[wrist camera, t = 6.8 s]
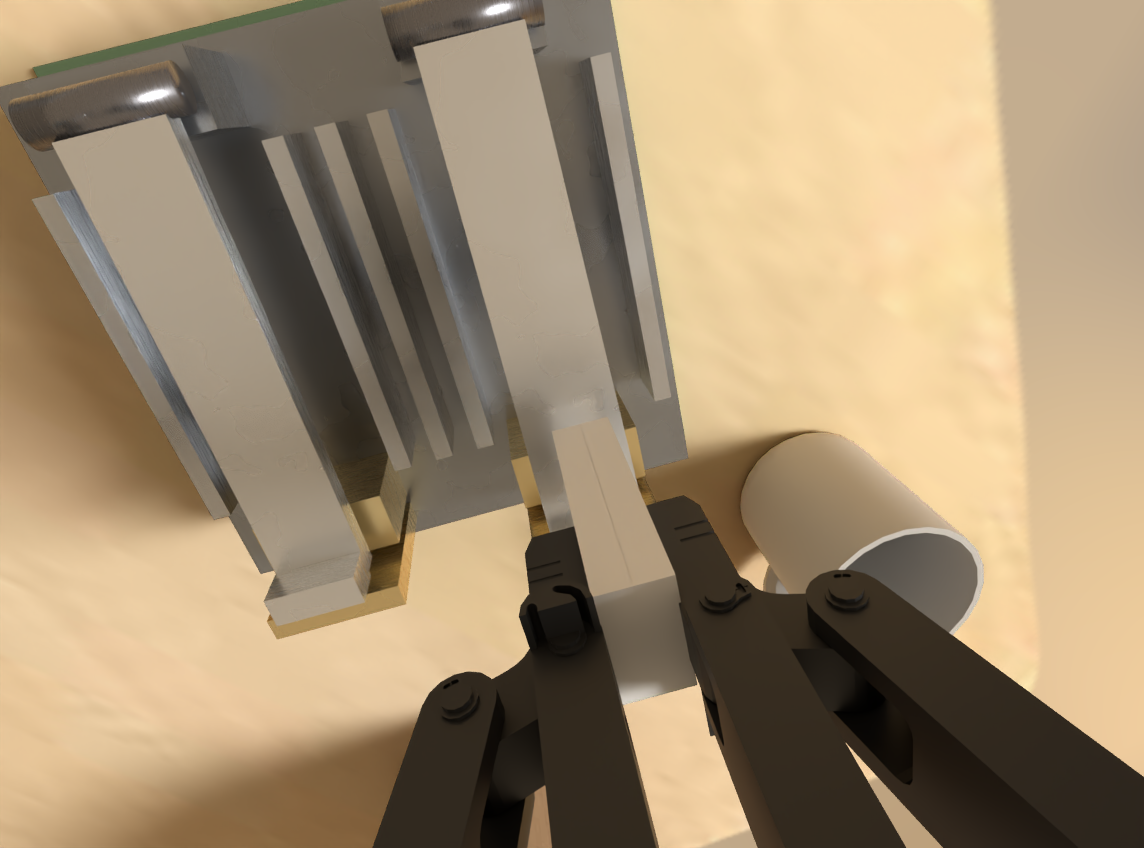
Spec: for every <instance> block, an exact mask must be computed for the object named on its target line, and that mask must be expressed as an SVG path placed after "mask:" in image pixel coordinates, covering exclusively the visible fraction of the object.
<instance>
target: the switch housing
mask: <svg viewBox="0 0 1144 848" xmlns="http://www.w3.org/2000/svg"><path fill="white" fill-rule="evenodd" d="M405 1H409V0H303V1H299V2H295V3H291V4H287V5H283V6H279V7H275V8H271V9H267V10H263V11H259V12H255V13H251V14H247V15H243V16H239V17H234V18H230V19H226V20H222V21H218V22H214V23H210V24H206V25H202V26H198V27H194V28H190V29H186V30H182V31H178V32H174V33H170V34H166V35H162V36H158V37H154V38H150V39H146V40H142V41H138V42H134V43H130V44H126V45H122V46H118V47H114V48H110V49H106V50H102V51H98V52H94V53H90V54H86V55H82V56H78V57H74V58H70V59H66V60H62V61H58V62H54V63H50V64H46V65H42V66H38V67H34V68H33V70H34V71H35V73H36V75H37V77H38V78H34V79H30V80H26V81H22V82H18V83H14V84H10V85H6V86H2V87H0V106H1V107H2V109H3V111H4V113H5V115H6V116H7V118H8V120H9V122H10V124H11V125H12V127H13V129H14V131H15V133H16V134H17V136H18V138H19V140H20V142H21V143H22V145H23V147H24V149H25V151H26V152H27V154H28V156H29V158H30V160H31V161H32V163H33V165H34V167H35V169H36V170H37V172H38V174H39V176H40V178H41V179H42V181H43V183H44V185H45V187H46V188H47V190H48V192H49V194H50V195H46V196H42V197H38V198H34V199H31V200H32V201H33V203H34V205H35V207H36V208H37V210H38V212H39V214H40V215H41V217H42V219H43V221H44V223H45V224H46V226H47V228H48V230H49V231H50V233H51V235H52V237H53V238H54V240H55V242H56V244H57V245H58V247H59V249H60V251H61V252H62V254H63V256H64V258H65V259H66V261H67V263H68V265H69V266H70V268H71V270H72V272H73V273H74V275H75V277H76V279H77V280H78V282H79V284H80V286H81V287H82V289H83V291H84V293H85V294H86V296H87V298H88V300H89V301H90V303H91V305H92V307H93V309H94V310H95V312H96V314H97V316H98V317H99V319H100V321H101V323H102V324H103V326H104V328H105V330H106V331H107V333H108V335H109V337H110V338H111V340H112V342H113V344H114V345H115V347H116V349H117V351H118V352H119V354H120V356H121V358H122V359H123V361H124V363H125V365H126V366H127V368H128V370H129V372H130V373H131V375H132V377H133V379H134V380H135V382H136V384H137V386H138V388H139V389H140V391H141V393H142V395H143V396H144V398H145V400H146V402H147V403H148V405H149V407H150V409H151V410H152V412H153V414H154V416H155V417H156V419H157V421H158V423H159V424H160V426H161V428H162V430H163V431H164V433H165V435H166V437H167V438H168V440H169V442H170V444H171V445H172V447H173V449H174V451H175V452H176V454H177V456H178V458H179V459H180V461H181V463H182V465H183V466H184V468H185V470H186V472H187V474H188V475H189V477H190V479H191V481H192V482H193V484H194V486H195V488H196V489H197V491H198V493H199V495H200V496H201V498H202V500H203V502H204V503H205V505H206V507H207V509H208V510H209V512H210V514H211V516H212V517H213V519H214V520H215V519H219V518H223V517H226V516H229V518H230V519H231V521H232V523H233V525H234V527H235V528H236V530H237V532H238V534H239V536H240V537H241V539H242V541H243V543H244V545H245V546H246V548H247V550H248V552H249V554H250V555H251V557H252V559H253V561H254V563H255V564H256V566H257V568H258V570H259V572H260V573H261V574H263V573H266V572H270V571H274V569H273V567H272V565H271V563H270V561H269V560H268V558H267V556H266V554H265V552H264V550H263V548H262V546H261V544H260V542H259V540H258V538H257V536H256V535H255V533H254V531H253V529H252V527H251V525H250V523H249V521H248V519H247V517H246V515H245V513H244V512H243V510H242V508H241V506H240V504H239V502H238V500H237V498H236V496H235V494H234V492H233V490H232V488H231V487H230V485H229V483H228V481H227V479H226V477H225V475H224V473H223V471H222V469H221V467H220V465H219V464H218V462H217V460H216V458H215V456H214V454H213V452H212V450H211V448H210V446H209V444H208V442H207V441H206V439H205V437H204V435H203V433H202V431H201V429H200V427H199V425H198V423H197V421H196V419H195V417H194V416H193V414H192V412H191V410H190V408H189V406H188V404H187V402H186V400H185V398H184V396H183V394H182V393H181V391H180V389H179V387H178V385H177V383H176V381H175V379H174V377H173V375H172V373H171V371H170V370H169V368H168V366H167V364H166V362H165V360H164V358H163V356H162V354H161V352H160V350H159V348H158V346H157V345H156V343H155V341H154V339H153V337H152V335H151V333H150V331H149V329H148V327H147V325H146V323H145V322H144V320H143V318H142V316H141V314H140V312H139V310H138V308H137V306H136V304H135V302H134V300H133V298H132V297H131V295H130V293H129V291H128V289H127V287H126V285H125V283H124V281H123V279H122V277H121V275H120V274H119V272H118V270H117V268H116V266H115V264H114V262H113V260H112V258H111V256H110V254H109V252H108V251H107V249H106V247H105V245H104V243H103V241H102V239H101V237H100V235H99V233H98V231H97V229H96V227H95V226H94V224H93V222H92V220H91V218H90V216H89V214H88V212H87V210H86V208H85V206H84V204H83V203H82V201H81V199H80V197H79V195H78V193H77V191H76V189H75V187H74V185H73V183H72V181H71V179H70V178H69V176H68V174H67V172H66V170H65V168H64V166H63V164H62V162H61V160H60V158H59V156H58V155H57V153H56V151H55V149H53V150H49V151H45V152H40V151H37V150H35V149H33V148H32V147H31V146H29V145H28V144H27V143H26V142H25V141H24V140H23V138H22V137H21V136H20V135H19V133H18V132H17V130H16V129H15V127H14V125H13V123H12V121H11V119H10V116H9V111H8V104H9V102H10V101H11V100H13V99H16V98H20V97H24V96H28V95H32V94H36V93H40V92H44V91H48V90H52V89H56V88H60V87H64V86H68V85H72V84H76V83H80V82H84V81H88V80H92V79H96V78H100V77H104V76H108V75H112V74H116V73H120V72H124V71H128V70H132V69H136V68H140V67H144V66H148V65H152V64H156V63H160V62H164V61H168V60H172V61H174V62H175V63H176V64H177V65H178V66H179V67H180V69H181V70H182V71H183V73H184V74H185V76H186V78H187V79H188V81H189V83H190V85H191V88H192V90H193V92H194V95H195V98H196V102H197V112H196V113H195V114H192V115H188V116H184V117H180V119H181V121H182V123H183V126H184V128H185V130H186V132H187V135H188V137H189V139H190V141H191V144H192V146H193V148H194V151H195V153H196V155H197V157H198V160H199V162H200V164H201V167H202V169H203V171H204V173H205V176H206V178H207V180H208V183H209V185H210V187H211V189H212V192H213V194H214V196H215V199H216V201H217V203H218V205H219V208H220V210H221V212H222V214H223V217H224V219H225V221H226V224H227V226H228V228H229V230H230V233H231V235H232V237H233V240H234V242H235V244H236V246H237V249H238V251H239V253H240V256H241V258H242V260H243V262H244V265H245V267H246V269H247V272H248V274H249V276H250V278H251V281H252V283H253V285H254V287H255V290H256V292H257V294H258V297H259V299H260V301H261V303H262V306H263V308H264V310H265V313H266V315H267V317H268V319H269V322H270V324H271V326H272V329H273V331H274V333H275V335H276V338H277V340H278V342H279V344H280V347H281V349H282V351H283V354H284V356H285V358H286V360H287V363H288V365H289V367H290V370H291V372H292V374H293V376H294V379H295V381H296V383H297V386H298V388H299V390H300V392H301V395H302V397H303V399H304V402H305V404H306V406H307V408H308V411H309V413H310V415H311V417H312V420H313V422H314V424H315V427H316V429H317V431H318V433H319V436H320V438H321V440H322V443H323V445H324V447H325V449H326V452H327V454H328V456H329V459H330V461H331V463H332V465H333V468H334V470H335V472H336V474H337V477H338V479H339V481H340V484H341V486H342V488H343V490H344V493H345V495H346V497H347V500H348V502H349V504H350V506H351V509H352V511H353V513H354V516H355V518H356V520H357V522H358V525H359V527H360V529H361V532H362V534H363V536H364V538H365V541H366V543H367V545H368V547H369V550H370V552H371V554H372V561H371V565H370V569H369V571H370V574H371V578H370V583H369V587H368V591H367V596H366V600H365V603H361V604H357V605H354V606H350V607H346V608H343V609H339V610H335V611H332V612H328V613H324V614H321V615H317V616H314V617H310V618H306V619H303V620H299V621H295V622H292V623H288V624H284V625H281V626H277V625H276V624H275V622H274V620H273V618H272V616H271V614H270V615H269V618H268V620H267V622H268V624H269V626H270V628H271V629H272V631H273V633H274V635H275V636H276V638H277V639H280V638H284V637H288V636H291V635H295V634H299V633H302V632H306V631H310V630H313V629H317V628H321V627H324V626H328V625H332V624H335V623H339V622H343V621H346V620H350V619H353V618H357V617H361V616H364V615H368V614H372V613H375V612H379V611H383V610H386V609H390V608H394V607H397V606H401V605H405V604H406V600H407V592H408V584H409V576H410V569H411V561H412V553H413V545H414V537H415V532H418V531H421V530H425V529H429V528H432V527H436V526H440V525H443V524H447V523H451V522H455V521H458V520H462V519H466V518H469V517H473V516H477V515H480V514H484V513H488V512H491V511H495V510H499V509H502V508H506V507H510V506H514V505H517V504H521V503H524V504H525V507H526V508H527V509H528V516H529V523H530V529H531V536H532V537H535V536H539V535H543V534H547V533H550V531H549V528H548V524H547V520H546V517H545V513H544V510H543V506H542V503H541V499H540V496H539V492H538V488H537V485H536V481H535V478H534V474H533V471H532V467H531V464H530V460H529V457H528V453H527V449H526V446H525V442H524V439H523V435H522V432H521V428H520V425H519V421H518V417H517V414H516V410H515V407H514V403H513V400H512V396H511V393H510V389H509V386H508V382H507V378H506V375H505V371H504V368H503V364H502V361H501V357H500V354H499V350H498V347H497V343H496V339H495V336H494V332H493V329H492V325H491V322H490V318H489V315H488V311H487V307H486V304H485V300H484V297H483V293H482V290H481V286H480V283H479V279H478V276H477V272H476V268H475V265H474V261H473V258H472V254H471V251H470V247H469V244H468V240H467V236H466V233H465V229H464V226H463V222H462V219H461V215H460V212H459V208H458V205H457V201H456V197H455V194H454V190H453V187H452V183H451V180H450V176H449V173H448V169H447V165H446V162H445V158H444V155H443V151H442V148H441V144H440V141H439V137H438V134H437V130H436V126H435V123H434V119H433V116H432V112H431V109H430V105H429V102H428V98H427V95H426V91H425V87H424V84H423V80H422V77H421V73H420V70H419V66H418V63H417V59H416V58H414V59H410V60H406V61H402V62H397V60H396V58H395V55H394V53H393V50H392V47H391V44H390V41H389V38H388V35H387V32H386V28H385V25H384V21H383V17H382V13H381V7H385V6H389V5H393V4H397V3H401V2H405ZM542 2H543V8H544V15H545V25H544V26H541V27H537V28H533V29H529V30H528V34H529V38H530V42H531V47H532V51H533V55H534V59H535V63H536V67H537V71H538V75H539V80H540V84H541V88H542V92H543V96H544V100H545V104H546V109H547V113H548V117H549V121H550V125H551V129H552V133H553V137H554V142H555V146H556V150H557V154H558V158H559V162H560V166H561V170H562V175H563V179H564V183H565V187H566V191H567V195H568V199H569V203H570V208H571V212H572V216H573V220H574V224H575V228H576V232H577V237H578V241H579V245H580V249H581V253H582V257H583V261H584V265H585V270H586V274H587V278H588V282H589V286H590V290H591V294H592V298H593V303H594V307H595V311H596V315H597V319H598V323H599V327H600V331H601V336H602V340H603V344H604V348H605V352H606V356H607V360H608V364H609V369H610V373H611V377H612V381H613V385H614V389H615V393H616V398H617V402H618V406H619V410H620V414H621V418H622V422H623V426H624V431H625V435H626V439H627V443H628V447H629V451H630V455H631V459H632V464H633V468H634V472H635V476H636V480H637V484H638V488H639V491H640V493H641V496H642V498H643V500H644V503H645V505H649V504H653V503H656V501H655V499H654V497H653V495H652V493H651V491H650V489H649V486H648V484H647V482H646V480H645V478H644V476H646V474H645V470H646V469H650V468H654V467H657V466H661V465H665V464H668V463H672V462H676V461H680V460H683V459H687V458H688V453H687V448H686V441H685V435H684V429H683V424H682V418H681V412H680V406H679V400H678V394H677V388H676V383H675V377H674V371H673V365H672V359H671V353H670V347H669V341H668V336H667V330H666V324H665V318H664V312H663V306H662V300H661V295H660V289H659V283H658V277H657V271H656V265H655V259H654V253H653V248H652V242H651V236H650V230H649V224H648V218H647V212H646V207H645V201H644V195H643V189H642V183H641V177H640V171H639V165H638V160H637V154H636V148H635V142H634V136H633V130H632V124H631V119H630V113H629V107H628V101H627V95H626V89H625V83H624V77H623V72H622V66H621V60H620V54H619V48H618V42H617V36H616V31H615V25H614V19H613V13H612V7H611V1H610V0H542Z"/></svg>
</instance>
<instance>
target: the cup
mask: <svg viewBox="0 0 1144 848" xmlns="http://www.w3.org/2000/svg"><path fill="white" fill-rule="evenodd" d="M740 510H741V514H742V519H743V523H744V524H745V526H746V528H747V530H748V532H749V533H750V535H751V537H752V538H753V540H754V542H755V543H756V545H757V546H758V548H759V549H760V551H761V552H762V554H763V555H764V557H765V558H766V560H767V562H768V563H769V566H768V568H767V572H766V575H765V578H764V583H763V591H765V592H769V593H777V594H805V593H806V589H807V587H808V585H809V583H810V581H812V580H813V579H814V578H816V577H817V576H818V575H820V574H822V573H826V572H829V571H832V570H853V571H858V572H862V573H865V574H867V575H869V576H871V577H873V578H875V579H877V580H878V581H880V582H881V583H882V584H884V585H885V586H887V587H888V588H889V589H891V590H892V591H893V592H895V593H896V594H897V595H899V596H900V597H901V598H903V599H904V600H905V601H907V602H908V603H909V604H911V605H912V606H914V607H915V608H916V609H918V610H919V611H920V612H922V613H923V614H924V615H926V616H927V617H928V618H930V619H931V620H932V621H934V622H935V623H937V624H938V625H939V626H941V627H942V628H943V629H945V630H946V631H947V632H949V633H950V634H951V635H953V634H954V633H955V632H956V631H957V630H958V629H959V628H960V627H961V625H962V624H963V623H964V622H965V621H966V620H967V619H968V617H969V616H970V614H971V612H972V610H973V609H974V607H975V605H976V604H977V602H978V600H979V597H980V593H981V590H982V586H983V583H984V571H983V563H982V560H981V558H980V555H979V553H978V550H977V549H976V548H975V547H974V546H973V545H972V544H971V543H970V542H969V541H968V540H967V539H966V538H965V537H964V536H963V535H962V534H961V533H960V532H959V531H957V530H956V529H955V528H954V527H953V526H952V525H950V524H949V523H948V522H947V521H946V520H945V519H944V518H942V517H941V516H940V515H939V514H938V513H937V512H935V511H934V510H933V509H932V508H931V507H930V506H928V505H927V504H926V503H925V502H924V501H923V500H922V499H920V498H919V497H918V496H917V495H916V494H915V493H913V492H912V491H911V490H910V489H909V488H908V487H907V486H905V485H904V484H903V483H902V482H901V481H900V480H898V479H897V478H896V477H895V476H894V475H893V474H892V473H890V472H889V471H888V470H887V469H886V468H885V467H883V466H882V465H881V464H880V463H879V462H878V461H877V460H875V459H874V458H873V457H872V456H871V455H870V454H868V453H867V452H866V451H865V450H864V449H863V448H862V447H860V446H859V445H857V444H856V443H854V442H853V441H851V440H849V439H847V438H845V437H843V436H841V435H838V434H832V433H826V432H819V433H808V434H802V435H799V436H796V437H793V438H790V439H787V440H785V441H783V442H781V443H780V444H778V445H776V446H775V447H773V448H771V449H770V450H769V451H768V452H767V453H766V454H765V455H763V456H762V457H761V458H760V459H759V460H758V461H757V463H756V464H755V466H754V467H753V469H752V470H751V471H750V473H749V474H748V477H747V479H746V482H745V485H744V487H743V490H742V493H741V503H740Z"/></svg>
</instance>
